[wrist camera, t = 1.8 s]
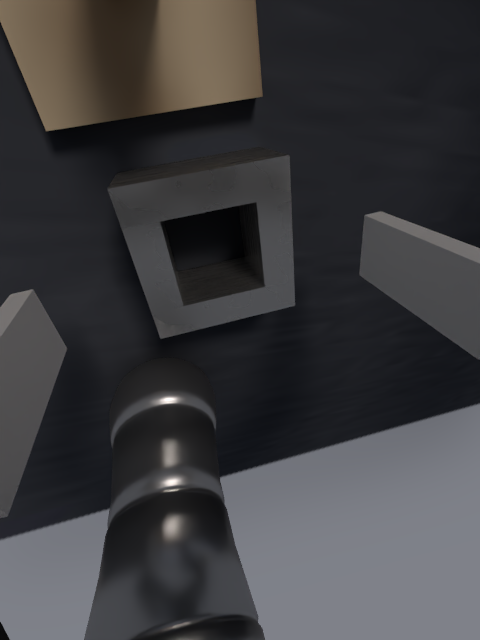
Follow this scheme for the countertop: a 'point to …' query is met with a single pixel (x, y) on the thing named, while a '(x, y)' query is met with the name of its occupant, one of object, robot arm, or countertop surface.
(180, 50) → the tan square plate
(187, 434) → the plastic bottle
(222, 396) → the countertop surface
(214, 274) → the grey square frame
